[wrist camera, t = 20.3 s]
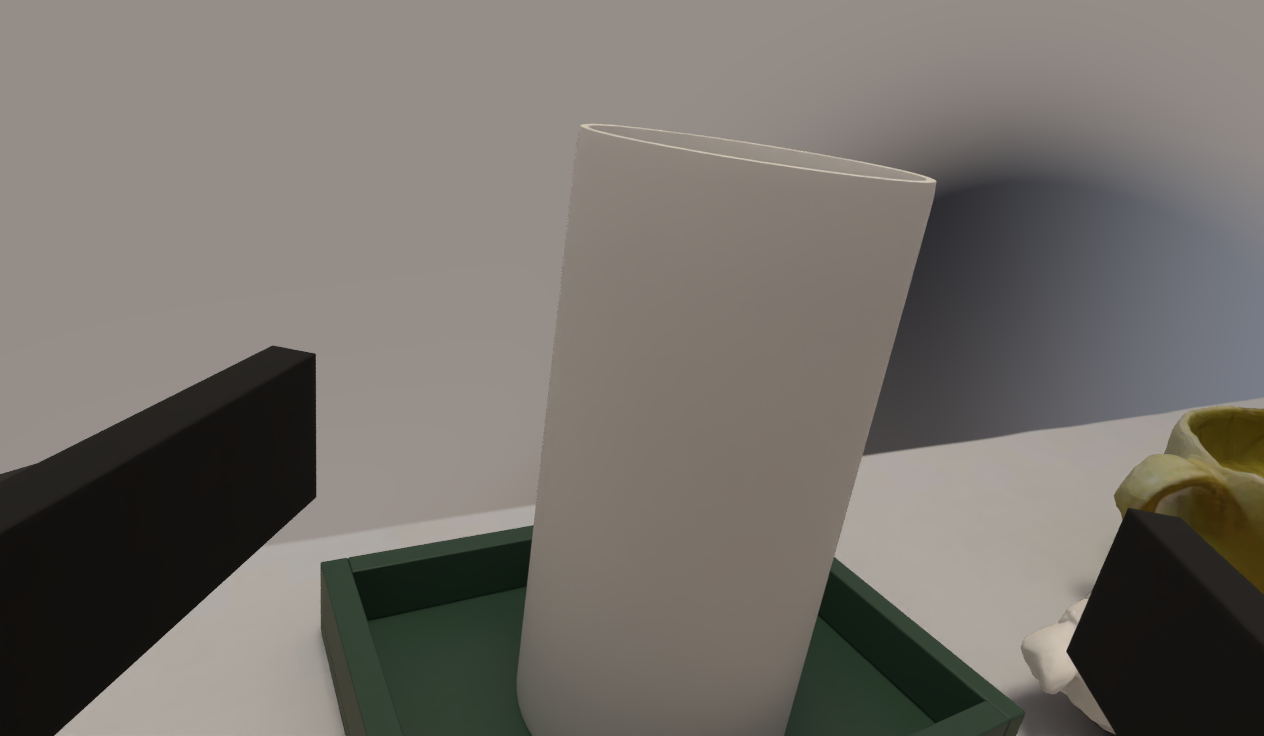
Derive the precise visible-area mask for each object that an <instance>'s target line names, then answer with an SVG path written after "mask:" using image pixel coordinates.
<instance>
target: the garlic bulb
mask: <svg viewBox="0 0 1264 736" xmlns="http://www.w3.org/2000/svg"><path fill="white" fill-rule="evenodd" d="M1090 595H1091V593H1089V594H1088V595H1087V596H1086V597H1085V599H1083V600H1080V601H1079V602H1077V603H1076V604H1074V605H1072V606H1071V607H1069V608H1068V609H1067V610H1066V611H1065V613H1064V615H1063V616H1062V618H1061V619H1060V620H1059V622H1058V623H1057V624H1054V625H1050V626H1047V627H1044V628H1042V629H1040V630H1038V631H1036V632H1034V633H1032V634H1030V635H1028V636H1027V637H1026V638H1025V639H1024V640H1023V642H1022V645H1021V651H1022V654H1023V656H1024V659H1025V661H1026V663H1027V664H1028V666H1029V668H1030V670H1031V672H1032V674H1033V675H1034V677H1035V678H1037V679H1038V680H1039V682H1040V686H1041V688H1042V689H1043V690H1044V691H1045V692H1046V693H1048V694H1051V695H1055V694H1057V693H1058V692H1059V691H1060V692H1063V693H1064V694H1066V695H1067V696H1068V697H1069V699H1070V700H1071V702H1072V703H1073V704H1074V705H1075V706H1077V707H1078V708H1079V709H1081V710H1082V711H1083V712H1084V713H1085V714H1086V715H1087V716H1088V717H1089V718H1090V719H1091V720H1092V721H1094V722H1096V723H1098V725H1099V726H1100V727H1101V728H1103V729H1105V730H1106V731H1108V732H1111V733H1113V734H1115V732H1114V730H1113V729H1112V727H1111V725H1110V724H1109V722H1108V720H1107V719H1106V717H1105V715H1104V714H1103V712H1102V710H1101V709H1100V707H1099V705H1098V704H1097V702H1096V700H1095V699H1094V697H1093V696H1092V694H1091V692H1090V691H1089V689H1088V687H1087V686H1086V684H1085V682H1084V681H1083V679H1082V677H1081V676H1080V674H1079V672H1078V671H1077V669H1076V667H1075V666H1074V664H1073V662H1072V661H1071V659H1070V657H1069V656H1068V654H1067V652H1066V650H1067V648H1068V645H1069V643H1070V641H1071V639H1072V636H1073V634H1074V632H1075V629H1076V627H1077V625H1078V622H1079V620H1080V618H1081V615H1082V613H1083V611H1084V608H1085V606H1086V604H1087V602H1088V599H1089V597H1090Z"/></svg>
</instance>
